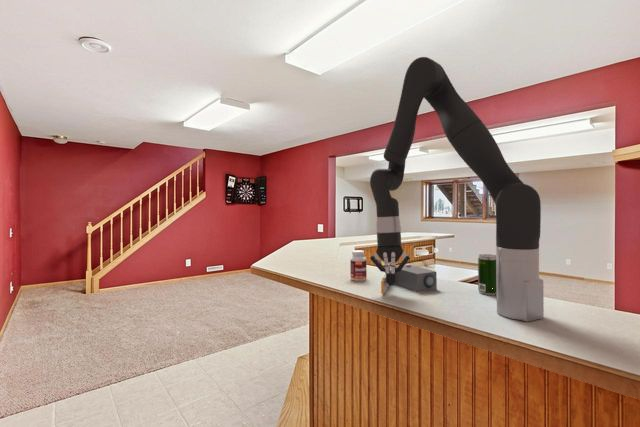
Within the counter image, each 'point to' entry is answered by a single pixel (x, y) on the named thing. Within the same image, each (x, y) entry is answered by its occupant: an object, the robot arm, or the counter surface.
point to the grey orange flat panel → (384, 284)
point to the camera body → (416, 278)
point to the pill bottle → (358, 266)
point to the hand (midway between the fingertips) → (391, 284)
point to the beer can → (487, 274)
